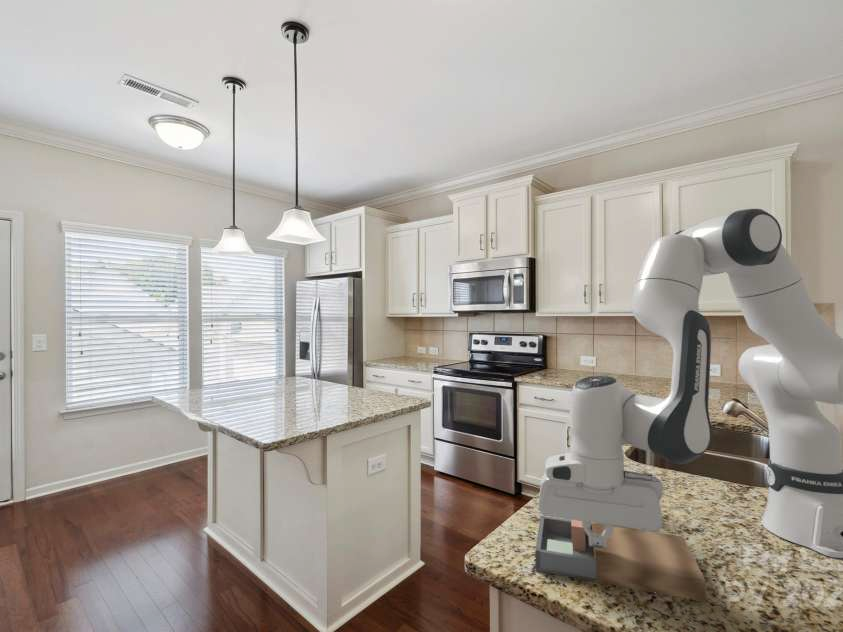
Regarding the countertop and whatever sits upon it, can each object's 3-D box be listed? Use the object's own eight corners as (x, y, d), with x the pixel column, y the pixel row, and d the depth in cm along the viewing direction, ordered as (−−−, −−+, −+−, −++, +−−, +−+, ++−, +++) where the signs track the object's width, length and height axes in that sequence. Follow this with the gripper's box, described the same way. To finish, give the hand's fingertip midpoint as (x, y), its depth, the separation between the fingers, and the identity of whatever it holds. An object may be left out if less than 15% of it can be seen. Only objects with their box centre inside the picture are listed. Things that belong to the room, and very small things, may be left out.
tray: (591, 540, 84) (591, 523, 84) (596, 581, 70) (595, 561, 70) (540, 532, 87) (540, 515, 87) (535, 570, 74) (535, 550, 74)
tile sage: (547, 539, 79) (547, 552, 79) (546, 551, 74) (546, 565, 74) (572, 543, 77) (572, 556, 77) (572, 556, 73) (573, 570, 73)
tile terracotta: (584, 517, 83) (571, 515, 84) (585, 528, 79) (571, 525, 80) (584, 539, 83) (571, 537, 84) (585, 551, 79) (571, 549, 80)
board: (682, 554, 78) (682, 536, 78) (705, 602, 65) (705, 580, 65) (591, 540, 84) (591, 523, 84) (596, 581, 70) (595, 561, 70)
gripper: (658, 468, 73) (659, 546, 73) (539, 456, 80) (540, 528, 80) (666, 481, 67) (668, 567, 67) (537, 467, 74) (537, 545, 74)
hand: (597, 545), depth 74 cm, fingers closed
